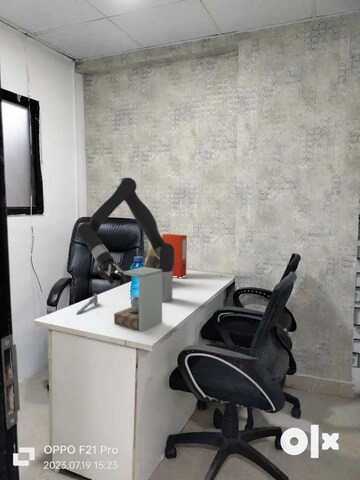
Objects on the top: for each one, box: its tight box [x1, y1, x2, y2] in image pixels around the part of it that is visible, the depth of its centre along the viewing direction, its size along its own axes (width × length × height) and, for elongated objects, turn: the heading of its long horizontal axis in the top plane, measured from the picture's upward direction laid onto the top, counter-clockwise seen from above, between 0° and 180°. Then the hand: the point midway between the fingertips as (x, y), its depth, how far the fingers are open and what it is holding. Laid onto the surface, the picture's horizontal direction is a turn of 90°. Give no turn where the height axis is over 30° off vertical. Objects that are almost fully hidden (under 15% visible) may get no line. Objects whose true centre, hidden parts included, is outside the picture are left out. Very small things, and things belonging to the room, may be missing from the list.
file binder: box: [161, 233, 188, 277], centre depth 258 cm, size 8×17×32 cm, turn 57°
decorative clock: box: [143, 244, 159, 269], centre depth 235 cm, size 28×13×30 cm, turn 159°
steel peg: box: [130, 296, 139, 315], centre depth 158 cm, size 4×4×12 cm
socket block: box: [113, 307, 139, 331], centre depth 158 cm, size 14×14×5 cm
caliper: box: [75, 293, 99, 316], centre depth 178 cm, size 20×1×6 cm, turn 165°
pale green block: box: [123, 266, 163, 333], centre depth 155 cm, size 11×14×25 cm
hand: (119, 281), depth 162 cm, fingers open, 8 cm apart
